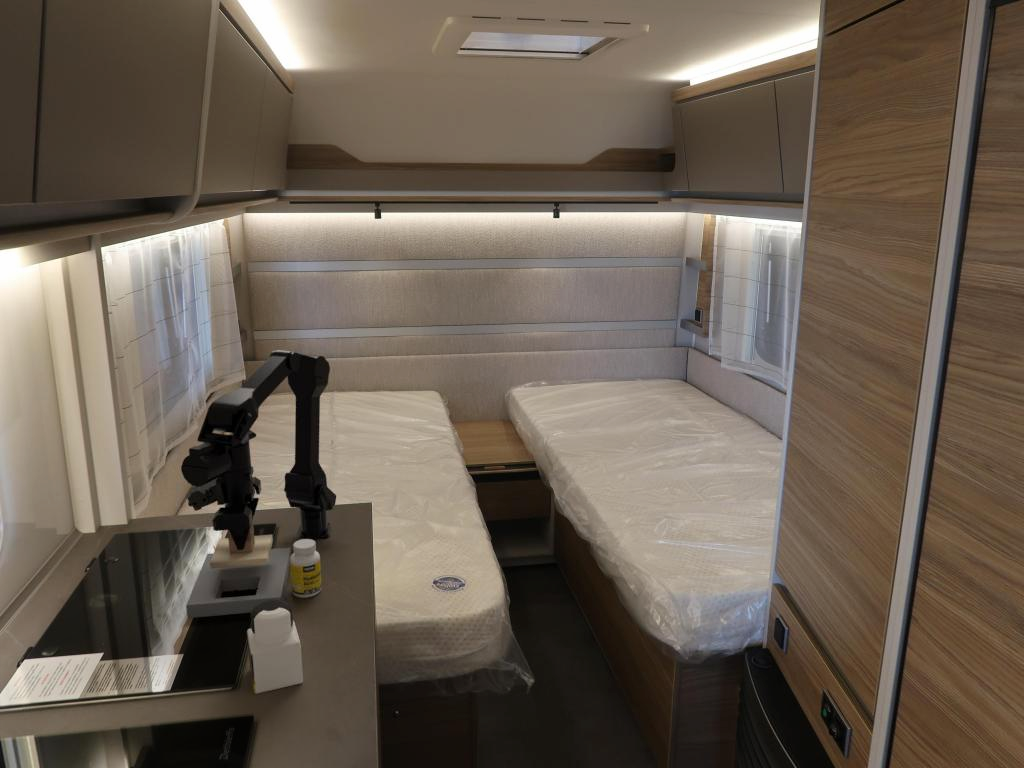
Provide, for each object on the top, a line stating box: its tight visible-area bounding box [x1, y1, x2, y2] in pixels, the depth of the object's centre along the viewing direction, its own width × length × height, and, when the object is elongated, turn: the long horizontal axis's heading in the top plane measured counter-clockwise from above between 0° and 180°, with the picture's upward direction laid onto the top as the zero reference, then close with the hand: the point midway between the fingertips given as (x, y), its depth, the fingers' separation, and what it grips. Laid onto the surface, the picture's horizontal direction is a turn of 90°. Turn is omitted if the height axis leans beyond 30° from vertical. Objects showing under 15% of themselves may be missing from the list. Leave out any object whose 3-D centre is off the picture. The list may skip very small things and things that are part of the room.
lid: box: [210, 520, 274, 569], centre depth 147 cm, size 10×10×6 cm
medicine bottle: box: [246, 600, 304, 694], centre depth 119 cm, size 7×7×12 cm
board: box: [185, 547, 292, 619], centre depth 147 cm, size 20×16×2 cm
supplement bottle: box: [290, 538, 322, 599], centre depth 145 cm, size 5×5×10 cm
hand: (242, 544), depth 147 cm, fingers closed on lid, 4 cm apart
